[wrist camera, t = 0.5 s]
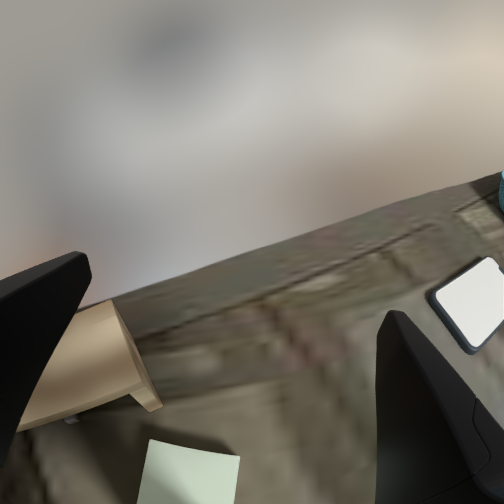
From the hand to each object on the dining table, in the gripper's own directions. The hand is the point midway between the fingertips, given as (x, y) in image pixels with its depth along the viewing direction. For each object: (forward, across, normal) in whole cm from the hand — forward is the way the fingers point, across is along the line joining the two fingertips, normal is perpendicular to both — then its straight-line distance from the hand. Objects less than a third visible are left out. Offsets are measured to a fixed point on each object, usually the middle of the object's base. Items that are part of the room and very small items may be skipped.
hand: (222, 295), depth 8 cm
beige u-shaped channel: (-2, +16, +17) cm, 23 cm away
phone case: (+19, -26, +12) cm, 35 cm away
